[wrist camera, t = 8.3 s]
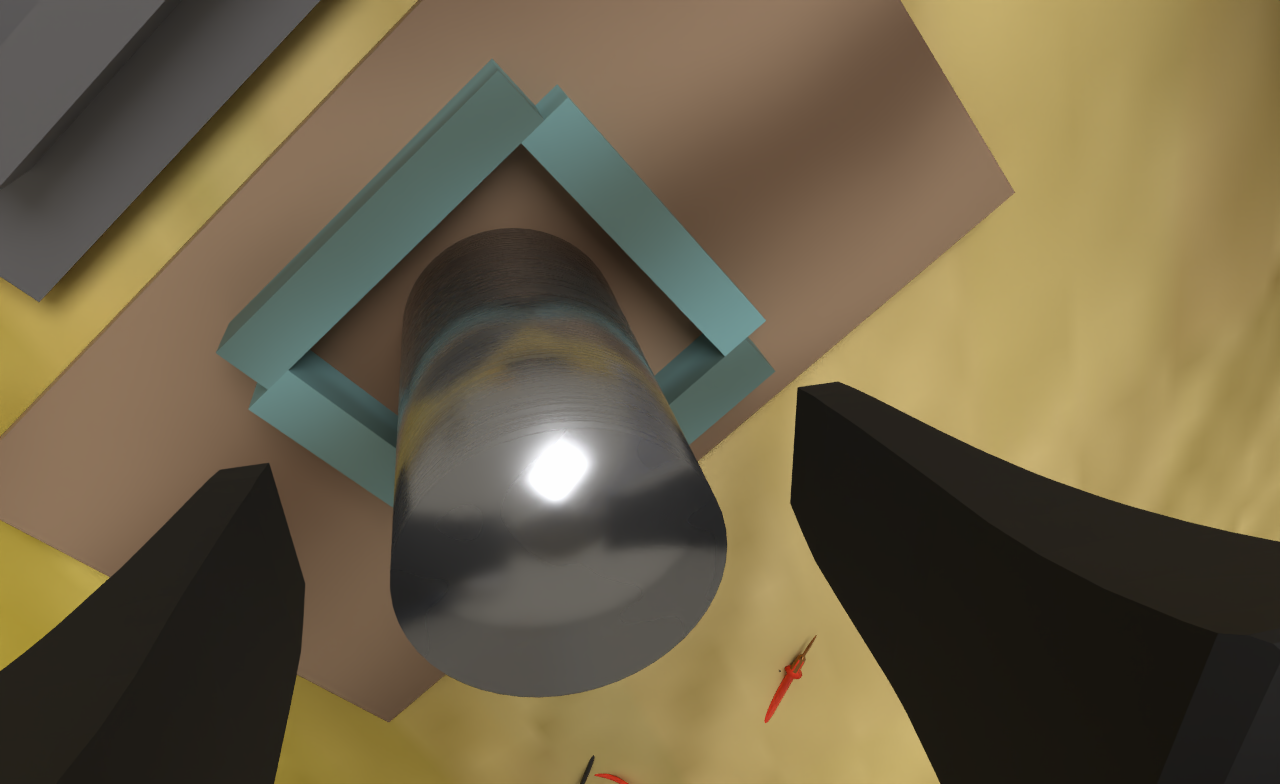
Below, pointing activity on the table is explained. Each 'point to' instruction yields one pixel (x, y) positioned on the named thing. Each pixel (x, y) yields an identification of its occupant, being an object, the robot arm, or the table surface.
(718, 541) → the peg
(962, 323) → the table surface
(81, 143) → the socket block
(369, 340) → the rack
